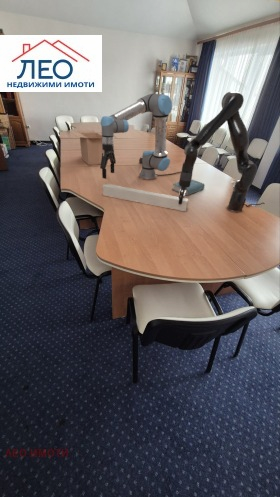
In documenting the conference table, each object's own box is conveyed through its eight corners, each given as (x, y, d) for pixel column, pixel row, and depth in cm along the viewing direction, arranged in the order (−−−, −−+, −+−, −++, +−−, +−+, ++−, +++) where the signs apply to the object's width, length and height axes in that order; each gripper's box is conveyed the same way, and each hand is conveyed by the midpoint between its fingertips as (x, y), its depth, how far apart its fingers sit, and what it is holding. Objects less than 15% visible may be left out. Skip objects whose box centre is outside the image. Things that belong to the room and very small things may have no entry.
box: (116, 165, 229) (116, 136, 213) (83, 168, 214) (80, 137, 198) (102, 154, 259) (101, 128, 243) (71, 156, 244) (68, 129, 228)
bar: (103, 195, 167) (102, 185, 163) (105, 192, 171) (105, 183, 166) (185, 211, 153) (187, 201, 149) (186, 208, 157) (188, 198, 153)
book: (188, 184, 197) (189, 178, 194) (203, 189, 189) (204, 183, 186) (172, 189, 184) (173, 183, 181) (188, 196, 175) (189, 190, 172)
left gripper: (104, 147, 136) (105, 181, 149) (120, 141, 156) (120, 171, 168) (93, 146, 138) (95, 179, 150) (110, 139, 157) (111, 169, 170)
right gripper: (189, 183, 137) (184, 206, 146) (192, 176, 148) (187, 198, 158) (178, 180, 138) (173, 204, 148) (181, 174, 149) (177, 196, 159)
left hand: (108, 175), depth 159 cm, fingers open, 13 cm apart
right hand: (181, 201), depth 153 cm, fingers open, 8 cm apart
